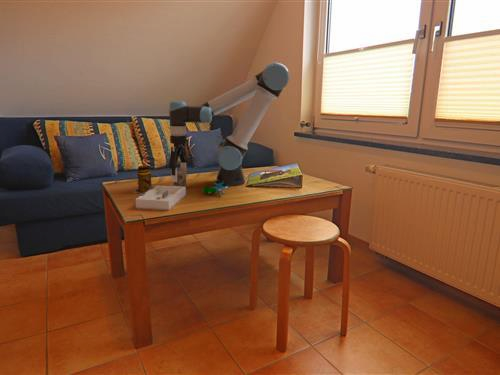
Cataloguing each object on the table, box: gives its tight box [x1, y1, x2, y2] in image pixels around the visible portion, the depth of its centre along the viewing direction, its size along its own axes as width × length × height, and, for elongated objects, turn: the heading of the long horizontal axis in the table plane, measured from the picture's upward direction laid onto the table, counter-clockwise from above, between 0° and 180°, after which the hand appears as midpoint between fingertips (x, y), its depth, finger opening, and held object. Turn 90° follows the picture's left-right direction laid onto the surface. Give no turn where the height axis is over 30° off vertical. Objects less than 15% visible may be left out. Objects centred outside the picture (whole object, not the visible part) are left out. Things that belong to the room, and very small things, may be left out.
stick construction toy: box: [202, 181, 228, 198], centre depth 160 cm, size 12×7×8 cm
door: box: [173, 168, 187, 188], centre depth 169 cm, size 4×10×9 cm, turn 173°
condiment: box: [133, 165, 152, 194], centre depth 164 cm, size 7×8×12 cm
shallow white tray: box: [135, 185, 187, 211], centre depth 150 cm, size 14×22×4 cm, turn 173°
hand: (178, 178), depth 169 cm, fingers open, 13 cm apart
